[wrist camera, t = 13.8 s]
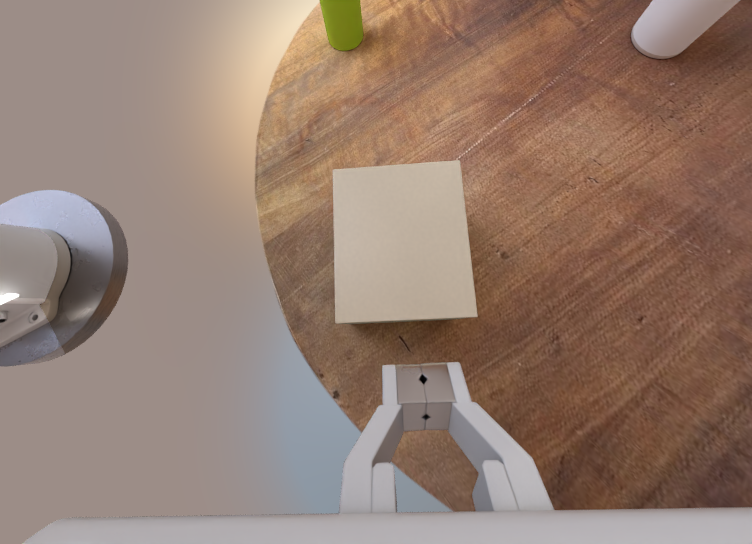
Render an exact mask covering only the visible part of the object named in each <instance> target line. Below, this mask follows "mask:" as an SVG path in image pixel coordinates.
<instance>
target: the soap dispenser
mask: <svg viewBox="0 0 752 544" xmlns="http://www.w3.org/2000/svg"><path fill="white" fill-rule="evenodd" d="M320 4H321V9H322V13H323V18H324V22H325V27H326V31H327V36H328V40H329V43H330V45H331V46H332V47H333V48H335V49H337V50H341V51H347V50H351V49H354V48H355V47H357V46H358V45H359V44H360V43H361V41H362V39H363V26H362V16H361V6H360V0H320Z"/></svg>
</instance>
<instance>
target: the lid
mask: <svg viewBox="0 0 752 544" xmlns="http://www.w3.org/2000/svg"><path fill="white" fill-rule="evenodd" d="M333 210H334V272H335V323H358V322H380V321H402V320H424V319H445V318H467V317H478V315H477V306H476V298H475V289H474V280H473V271H472V263H471V254H470V245H469V236H468V228H467V219H466V210H465V201H464V193H463V184H462V175H461V166H460V160H456V161H443V162H429V163H416V164H402V165H389V166H375V167H362V168H348V169H334V170H333Z"/></svg>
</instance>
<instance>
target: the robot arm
mask: <svg viewBox="0 0 752 544" xmlns="http://www.w3.org/2000/svg"><path fill="white" fill-rule="evenodd" d="M70 265H71V258H70V252H69V248H68V246H67V244H66V242H65V241H64V239H63V238H62V237H61V236H60V235H59V234H57V233H56V232H54V231H52V230H49V229H46V228H34V227H23V226H14V225H7V224H0V348H1V347H3V346H5V345H6V344H8V343H10V342H12V341H14V340H16V339H18V338H20V337H22V336H24V335H26V334H28V333H29V332H31V331H33V330H35V329H37V328H39V327H41V326H43V325H45V324H47V323H49V322H51V321H52V320H53V319H54V318H55V316H56V314H57V310H58V303H59V297H60V294H61V292H62V290H63V288H64V286H65V284H66V282H67V279H68V276H69V272H70ZM382 387H383V405H379V406H378V408H377V409H376V411H375V413H374V414H373V416H372V417H371V419H370V421H369V422H368V424H367V425H366V427H365V429H364V430H363V432H362V434H361V435H360V437H359V439H358V440H357V442H356V443H355V445H354V447H353V448H352V450H351V451H350V453H349V455H348V456H347V458H346V459H345V461H344V466H343V476H342V487H341V497H340V507H339V514H274V515H207V516H149V517H148V516H146V517H145V516H142V517H72V518H64V519H59V520H57V521H55V522H52V523H51V524H49V525H48V526H46V527H45V528H43V529H42V530H40V531H39V532H37V533H36V534H34V535H33V536H31V537H30V538H29V539H27V540H26V541H25V542H24V543H22V544H752V507H738V508H671V509H605V510H554V508H553V506H552V503H551V501H550V498H549V496H548V494H547V491H546V489H545V487H544V484H543V482H542V479H541V477H540V475H539V472H538V470H537V468H536V465H535V463H534V460H533V458H532V457H531V456H530V455H529V454H528V453H527V452H526V451H525V450H524V449H523V448H522V447H521V446H520V445H519V444H518V443H517V442H516V441H515V440H514V439H513V438H512V437H511V436H510V435H509V434H508V433H507V432H506V431H505V430H504V429H503V428H502V427H501V426H500V425H499V424H498V423H497V422H496V421H495V420H494V419H493V418H492V417H491V416H489V415H488V414H487V413H486V412H485V411H484V410H483V409H482V408H481V407H480V406H479V405H478V404H477V403H476V402H472V401H471V397H470V394H469V391H468V388H467V384H466V381H465V378H464V375H463V371H462V368H461V365H460V363H459V362H450V363H445V362H442V363H425V364H408V365H396V367H395V365H383V367H382ZM418 430H448V432H449V433H450V435H451V436H452V437H453V439H454V440H455V441H456V443H457V444H458V445H459V447H460V448H461V449H462V451H463V452H464V454H465V455H466V456H467V458H468V459H469V460H470V462H471V463H472V464H473V466H474V467H475V469H476V470H477V471H478V473H479V475H478V478H477V481H476V484H475V487H474V490H473V493H472V497H473V501H474V505H475V510H476V511H471V512H407V513H406V512H405V513H397V501H396V488H395V475H394V467H393V466H392V465H391V464H390V462H391V459H392V457H393V455H394V453H395V450H396V448H397V446H398V444H399V442H400V439H401V437H402V435H403V431H418Z"/></svg>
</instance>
